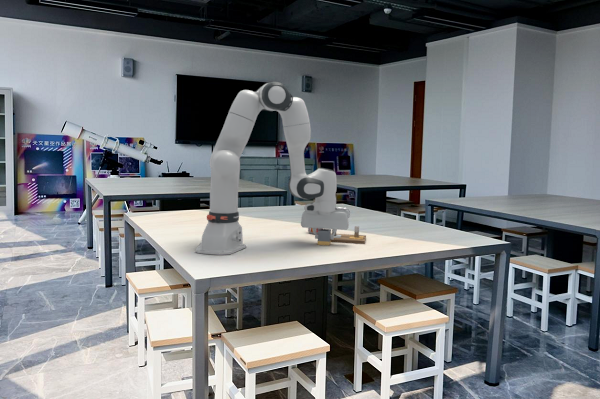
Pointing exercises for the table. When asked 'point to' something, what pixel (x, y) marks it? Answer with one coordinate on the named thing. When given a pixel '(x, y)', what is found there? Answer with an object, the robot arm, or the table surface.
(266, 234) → the table surface
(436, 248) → the table surface
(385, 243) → the table surface
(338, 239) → the pin board
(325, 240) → the sleeve
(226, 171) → the robot arm
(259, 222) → the table surface
